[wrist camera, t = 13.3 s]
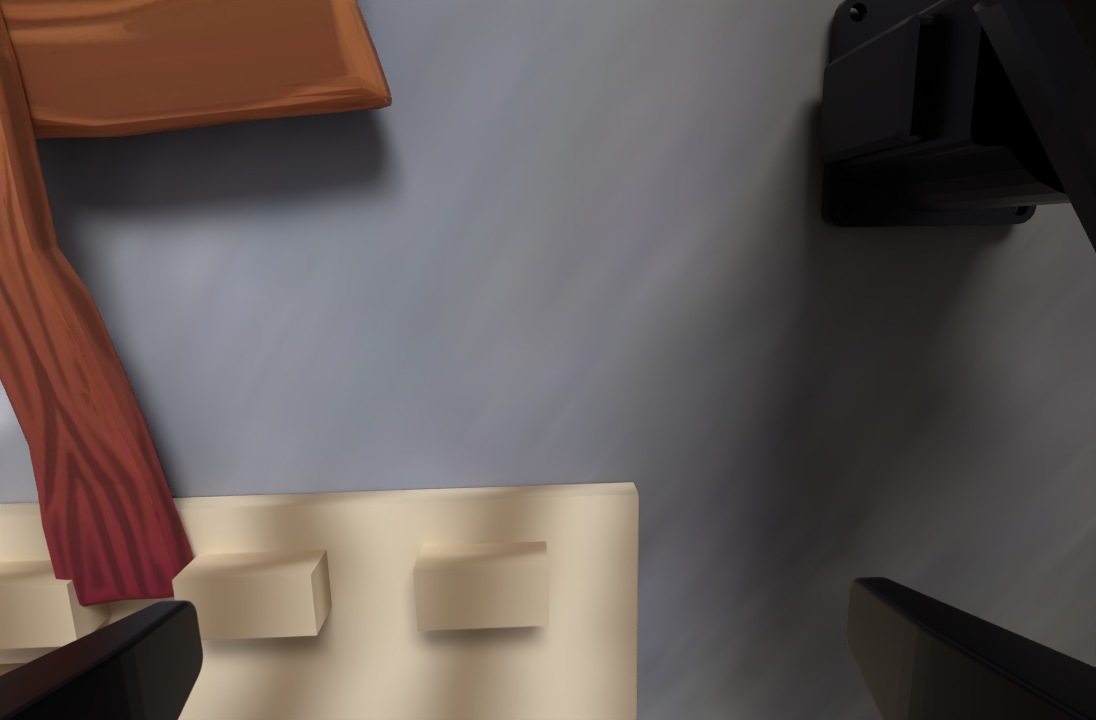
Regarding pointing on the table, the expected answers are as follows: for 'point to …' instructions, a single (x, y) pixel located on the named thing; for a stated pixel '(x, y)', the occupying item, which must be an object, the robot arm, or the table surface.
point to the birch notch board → (380, 603)
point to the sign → (53, 285)
